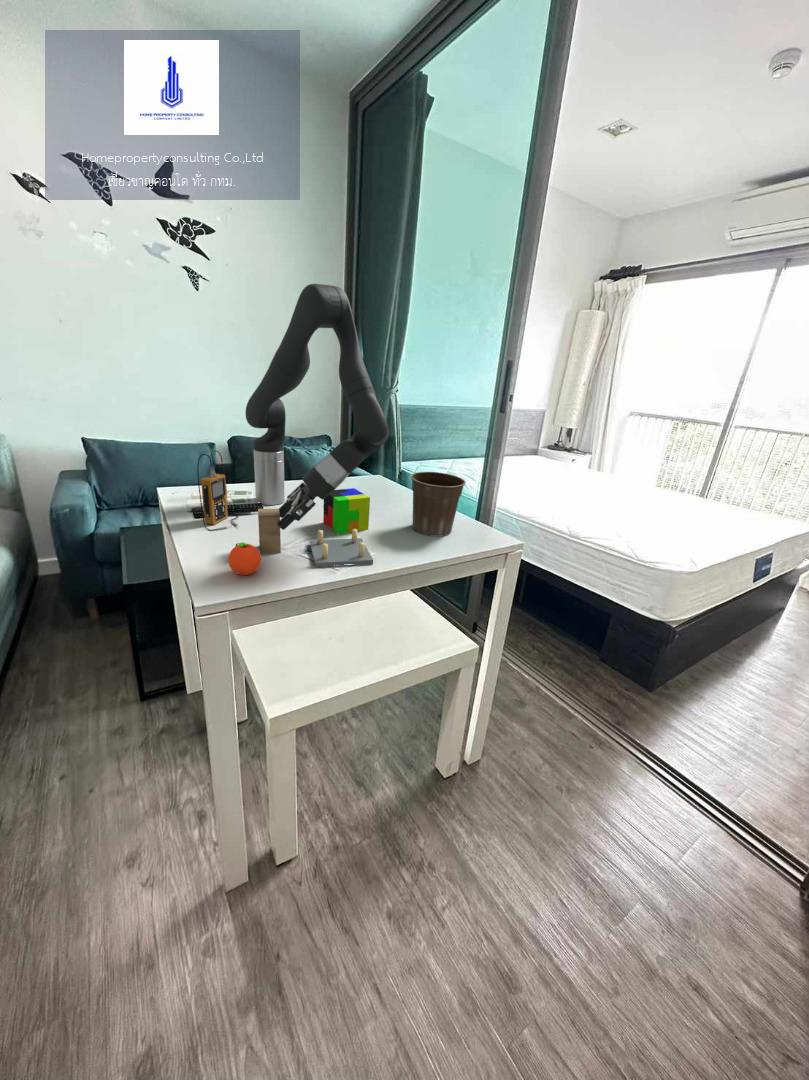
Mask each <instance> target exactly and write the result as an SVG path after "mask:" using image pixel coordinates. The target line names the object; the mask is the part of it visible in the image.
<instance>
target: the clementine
mask: <svg viewBox="0 0 809 1080" xmlns="http://www.w3.org/2000/svg"><path fill="white" fill-rule="evenodd" d="M227 558H228V559H227V560H228V566H229V568H230V569H231V571H233V572H234V573H235V574H238V575H242V576H247V575H252V574H254V573H255V572H256V571H258V569H259V568H260V566H261V563H262V555H261V554H260V549H258V548H256V546H254V545H253V544H250V543H246V542H237V543H236V544H235V546H234V547H233V548H232V549H231V550H230V551H229V554H228V557H227Z"/></svg>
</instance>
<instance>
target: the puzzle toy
mask: <svg viewBox="0 0 809 1080" xmlns="http://www.w3.org/2000/svg"><path fill="white" fill-rule="evenodd" d="M370 505H371V497H370V496H369V495H367V494H365V493H363V492H361V491H360V490H358V489H356V488H355V487H353V488H344V489H343V488H342V489H335V490H334V491H333V492H332V493H331V494H330V495H328V496H327V497H326V498H325V499H323V512H322V513H323V520H322V522H323V524H324V525H326V526H327V527H328V529H329V528H330V529H331V530H332V531H333V532H335V534H337V535H338V534H339V535H340V534H346V533H352V529H357V532H361V531H367V530H369V525H370V524H369V522H370V510H371V509H370Z"/></svg>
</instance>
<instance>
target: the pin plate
mask: <svg viewBox="0 0 809 1080" xmlns="http://www.w3.org/2000/svg"><path fill="white" fill-rule="evenodd" d="M308 541H309V542H308V543H310V545H309V547H310V546H311V549H310V551H311V550H312V552H311V555H312V554H313V556H312V559H314V560H313V563H314V567H315V568H329V567H328V566H333V567H337V566H336V565H344V564H358V565H357V566H363V565H364V566H365V565H367V566H368V565H374V559H373V556H372V555H371V553H370V552H369V550H368V548H367V546H366V544H365V542H364V540H363V539H362V538H358V531H357V529H352V532H351V538H334V539H324V530H322V529H317V539H311V540H308ZM334 565H335V566H334Z"/></svg>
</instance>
